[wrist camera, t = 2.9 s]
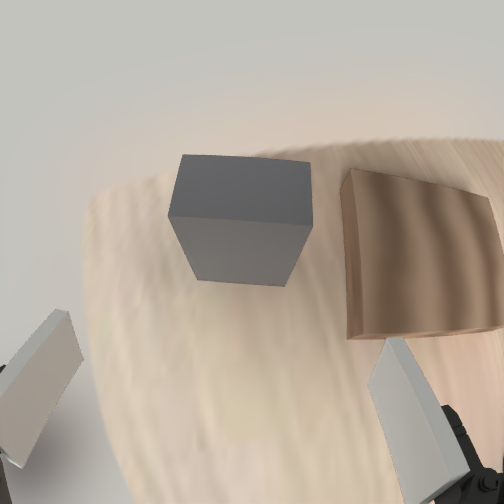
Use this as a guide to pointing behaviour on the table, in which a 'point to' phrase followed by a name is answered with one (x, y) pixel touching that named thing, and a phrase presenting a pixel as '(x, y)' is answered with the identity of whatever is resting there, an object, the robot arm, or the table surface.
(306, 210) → the tall slate rectangular prism
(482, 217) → the display block
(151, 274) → the table surface
